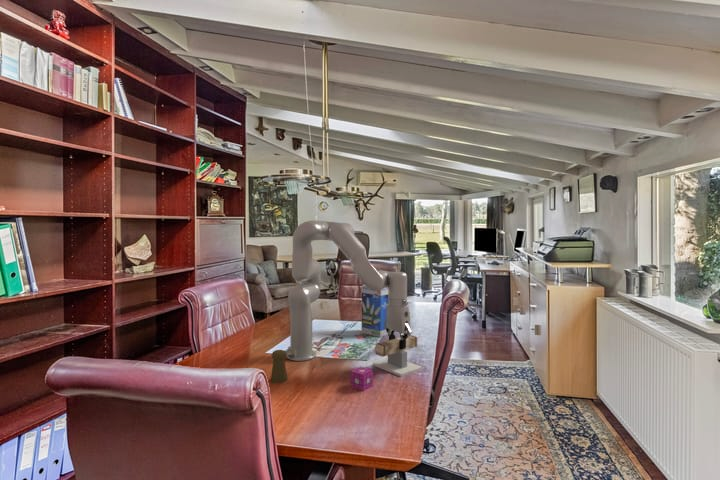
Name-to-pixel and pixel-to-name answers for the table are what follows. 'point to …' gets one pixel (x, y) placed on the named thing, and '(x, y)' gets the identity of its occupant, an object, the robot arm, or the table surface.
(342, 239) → the robot arm
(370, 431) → the table surface
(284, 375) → the cork
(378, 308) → the string lights box
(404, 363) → the ridge block
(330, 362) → the table surface
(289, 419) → the table surface
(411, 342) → the beech bar
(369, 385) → the puzzle toy
